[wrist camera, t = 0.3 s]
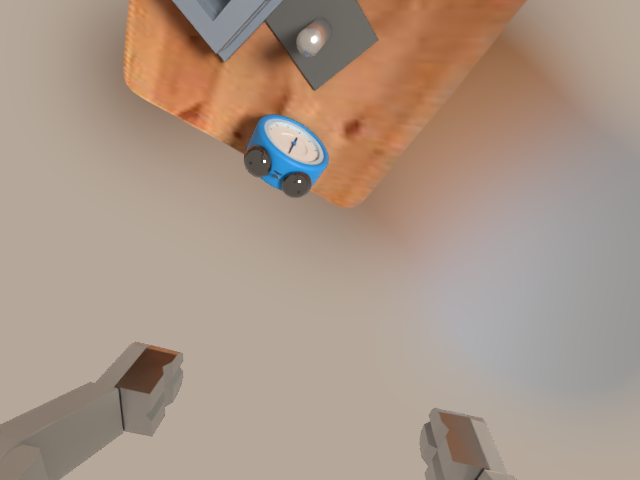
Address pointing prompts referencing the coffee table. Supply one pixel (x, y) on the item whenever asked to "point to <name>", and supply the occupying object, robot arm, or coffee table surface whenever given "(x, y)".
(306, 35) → the steel pin
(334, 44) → the rubber mat
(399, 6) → the coffee table surface
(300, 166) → the alarm clock
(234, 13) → the grey block with hole
